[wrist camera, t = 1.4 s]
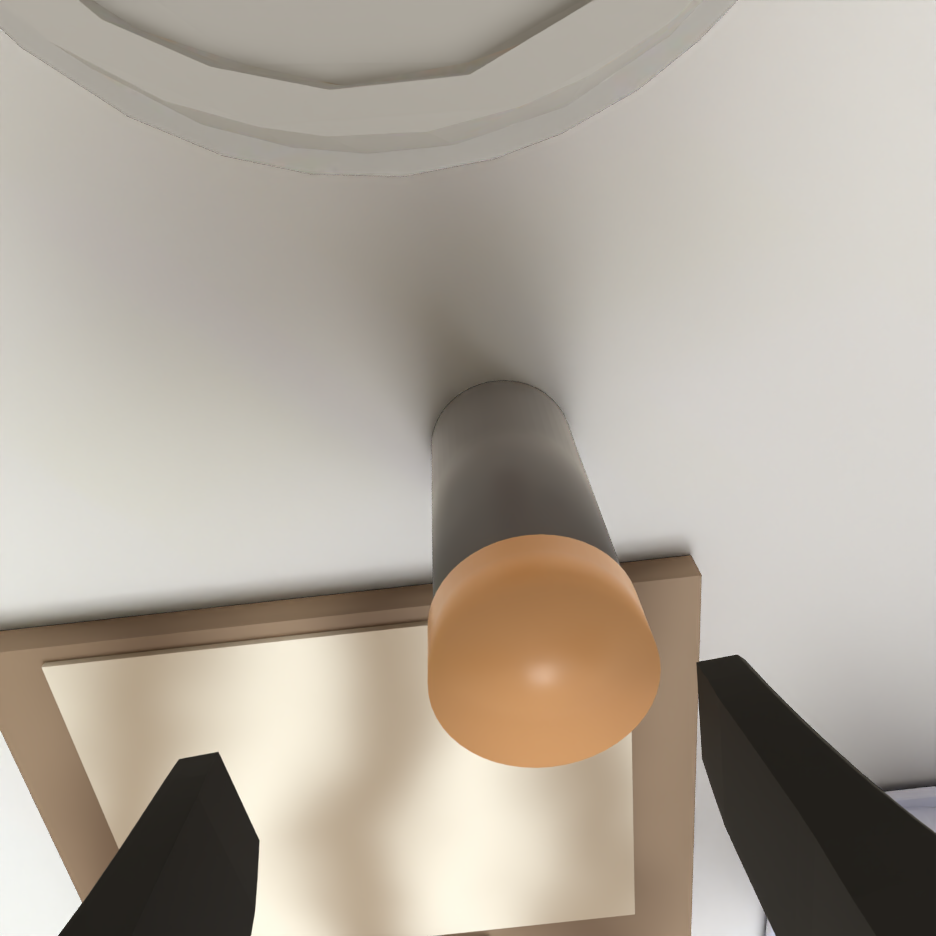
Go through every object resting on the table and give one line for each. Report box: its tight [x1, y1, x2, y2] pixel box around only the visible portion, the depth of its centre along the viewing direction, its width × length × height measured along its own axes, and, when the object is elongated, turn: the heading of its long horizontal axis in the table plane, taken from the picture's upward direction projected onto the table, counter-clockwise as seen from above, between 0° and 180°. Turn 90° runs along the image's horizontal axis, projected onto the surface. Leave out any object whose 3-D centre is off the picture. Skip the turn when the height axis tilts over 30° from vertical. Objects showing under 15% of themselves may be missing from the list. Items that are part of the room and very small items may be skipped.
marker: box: [428, 381, 661, 768], centre depth 18 cm, size 4×4×9 cm
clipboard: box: [0, 555, 702, 936], centre depth 26 cm, size 20×16×2 cm
